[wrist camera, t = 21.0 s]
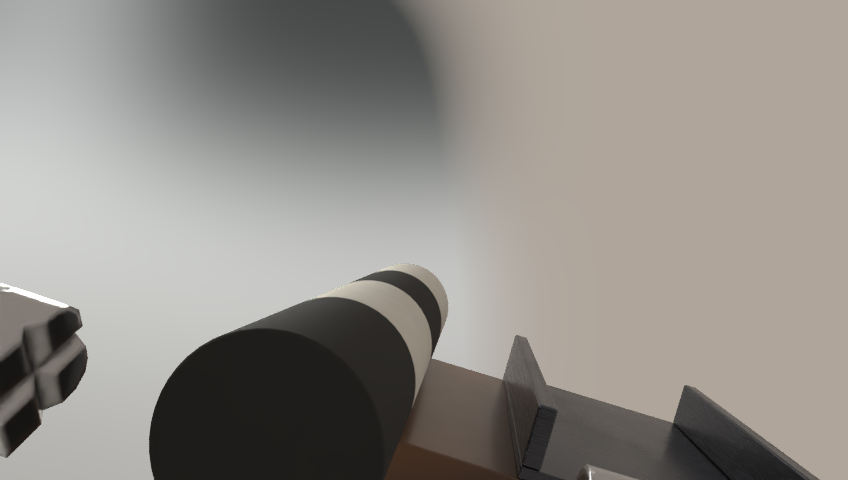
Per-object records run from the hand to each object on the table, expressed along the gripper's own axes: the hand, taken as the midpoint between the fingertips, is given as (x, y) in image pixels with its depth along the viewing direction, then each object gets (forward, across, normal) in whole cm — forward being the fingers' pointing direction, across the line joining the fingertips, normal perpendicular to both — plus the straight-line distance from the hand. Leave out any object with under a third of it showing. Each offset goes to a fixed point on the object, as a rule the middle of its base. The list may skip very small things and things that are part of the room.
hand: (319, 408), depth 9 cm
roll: (+8, 0, +9) cm, 12 cm away
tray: (+11, -10, +11) cm, 18 cm away
